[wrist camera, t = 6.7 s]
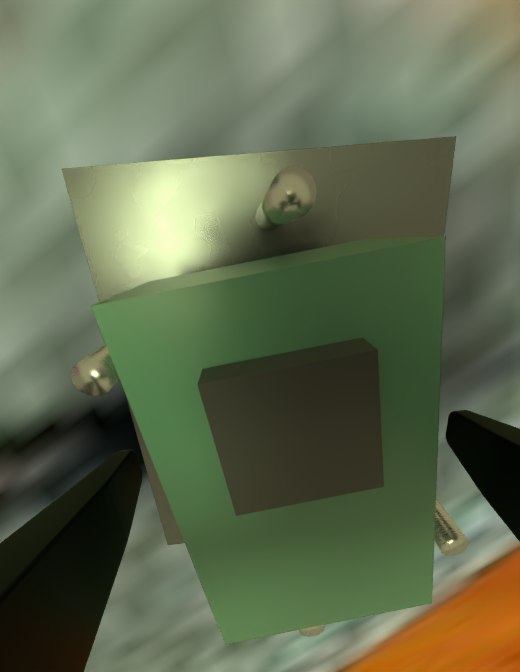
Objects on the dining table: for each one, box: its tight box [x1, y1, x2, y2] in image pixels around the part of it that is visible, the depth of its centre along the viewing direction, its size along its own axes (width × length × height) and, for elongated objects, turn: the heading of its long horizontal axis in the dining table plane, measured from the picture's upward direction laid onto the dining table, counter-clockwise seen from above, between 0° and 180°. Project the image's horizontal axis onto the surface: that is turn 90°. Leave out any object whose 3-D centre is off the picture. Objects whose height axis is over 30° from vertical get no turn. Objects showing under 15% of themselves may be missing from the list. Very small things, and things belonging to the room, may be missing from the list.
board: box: [91, 236, 446, 644], centre depth 7 cm, size 10×6×4 cm, turn 10°
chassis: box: [62, 136, 468, 636], centre depth 9 cm, size 16×12×6 cm
